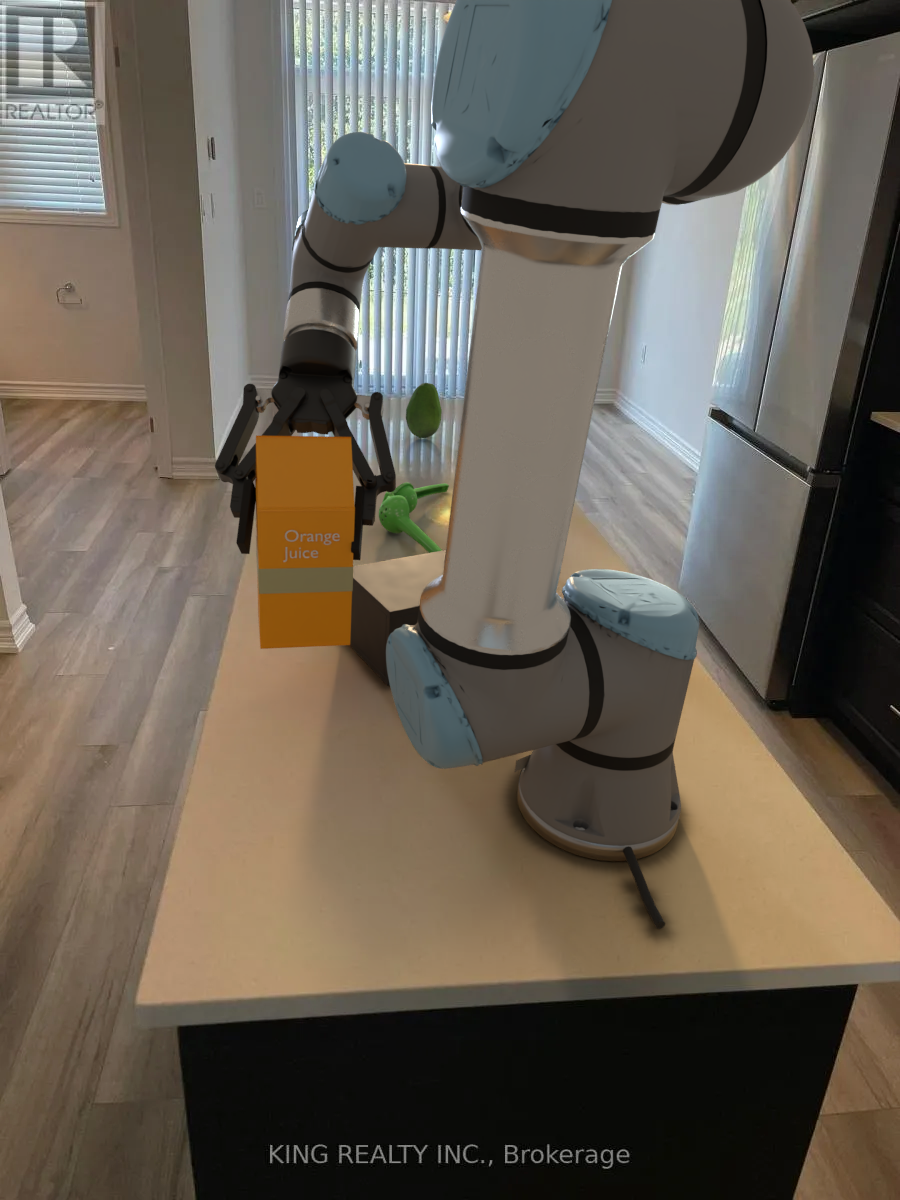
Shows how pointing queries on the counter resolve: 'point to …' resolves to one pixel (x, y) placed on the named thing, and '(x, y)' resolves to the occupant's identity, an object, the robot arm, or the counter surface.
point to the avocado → (424, 411)
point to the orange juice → (304, 540)
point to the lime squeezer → (407, 512)
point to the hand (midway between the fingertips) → (299, 551)
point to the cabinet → (388, 602)
